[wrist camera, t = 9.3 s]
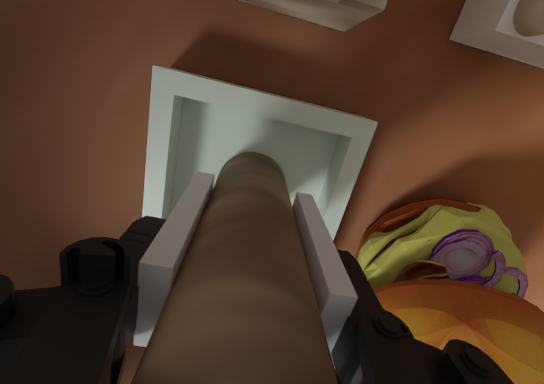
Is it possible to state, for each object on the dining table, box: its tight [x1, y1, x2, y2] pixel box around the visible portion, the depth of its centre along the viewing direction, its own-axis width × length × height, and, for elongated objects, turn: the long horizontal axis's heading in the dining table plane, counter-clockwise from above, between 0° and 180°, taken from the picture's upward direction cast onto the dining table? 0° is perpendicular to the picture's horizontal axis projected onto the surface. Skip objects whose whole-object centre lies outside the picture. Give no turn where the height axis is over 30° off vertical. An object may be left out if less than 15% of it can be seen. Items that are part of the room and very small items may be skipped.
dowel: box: [131, 152, 338, 384], centre depth 11 cm, size 4×4×12 cm
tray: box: [142, 65, 378, 241], centre depth 16 cm, size 11×11×2 cm
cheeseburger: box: [355, 198, 544, 384], centre depth 16 cm, size 10×11×10 cm
